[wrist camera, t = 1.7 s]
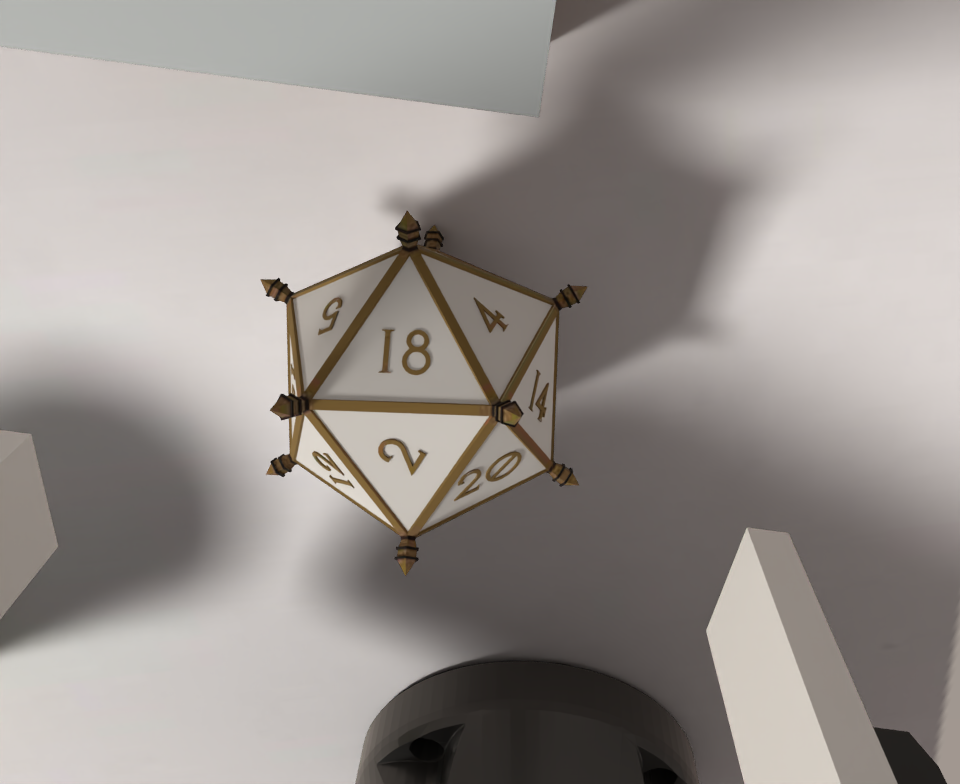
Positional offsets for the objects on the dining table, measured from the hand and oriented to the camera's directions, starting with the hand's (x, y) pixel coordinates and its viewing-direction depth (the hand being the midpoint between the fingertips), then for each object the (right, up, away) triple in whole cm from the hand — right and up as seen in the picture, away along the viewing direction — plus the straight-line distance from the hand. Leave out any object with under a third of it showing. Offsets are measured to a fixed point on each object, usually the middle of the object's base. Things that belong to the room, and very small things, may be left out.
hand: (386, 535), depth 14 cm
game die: (0, +5, +9) cm, 11 cm away
